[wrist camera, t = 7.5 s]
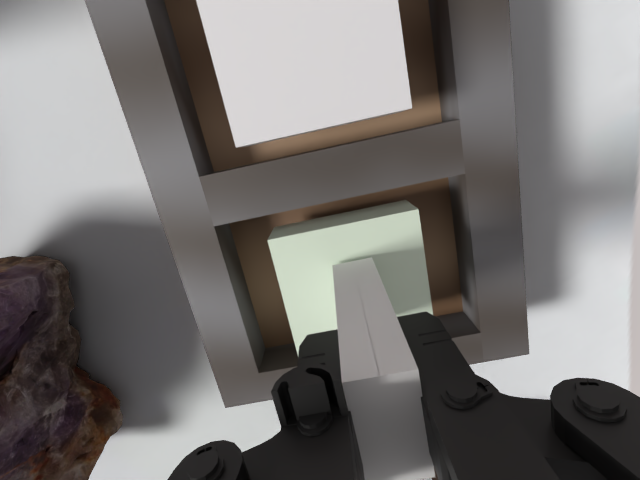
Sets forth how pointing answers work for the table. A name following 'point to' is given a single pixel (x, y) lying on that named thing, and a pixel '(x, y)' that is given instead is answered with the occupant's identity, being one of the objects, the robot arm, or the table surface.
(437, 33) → the keypad
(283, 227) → the sage key
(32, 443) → the rock
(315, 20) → the white key
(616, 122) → the table surface
